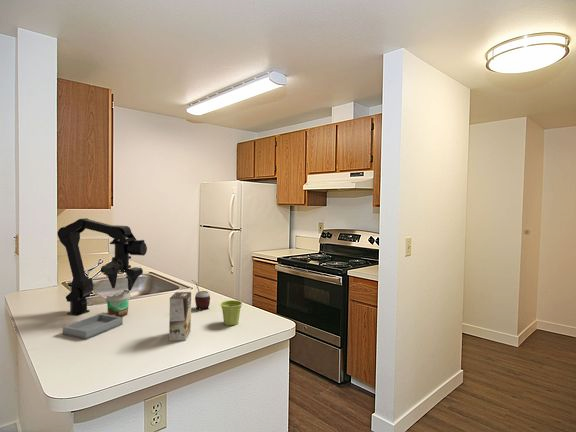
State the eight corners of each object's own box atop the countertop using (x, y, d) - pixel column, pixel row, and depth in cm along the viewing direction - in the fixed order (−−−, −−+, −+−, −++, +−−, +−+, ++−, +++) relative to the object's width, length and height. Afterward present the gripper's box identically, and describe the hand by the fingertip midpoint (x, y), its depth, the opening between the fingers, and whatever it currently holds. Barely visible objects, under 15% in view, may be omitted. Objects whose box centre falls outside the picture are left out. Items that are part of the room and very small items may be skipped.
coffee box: (186, 340, 130) (186, 298, 129) (168, 340, 130) (169, 298, 129) (191, 331, 139) (191, 291, 139) (174, 331, 139) (175, 291, 138)
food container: (118, 320, 149) (118, 297, 149) (105, 319, 150) (105, 296, 150) (136, 311, 161) (136, 290, 161) (124, 310, 162) (124, 289, 162)
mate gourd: (211, 307, 171) (212, 276, 170) (206, 312, 163) (206, 280, 162) (197, 306, 172) (197, 276, 171) (191, 311, 164) (191, 279, 163)
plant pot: (215, 325, 147) (215, 304, 146) (227, 318, 156) (227, 299, 155) (235, 328, 144) (235, 307, 143) (245, 321, 152) (246, 301, 152)
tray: (62, 334, 133) (62, 327, 133) (100, 320, 149) (100, 313, 149) (86, 339, 129) (86, 331, 129) (122, 324, 145) (122, 317, 145)
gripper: (90, 255, 150) (90, 291, 151) (124, 259, 144) (123, 296, 144) (111, 251, 160) (111, 285, 161) (143, 255, 154) (143, 290, 155)
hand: (121, 289), depth 155 cm, fingers open, 9 cm apart
